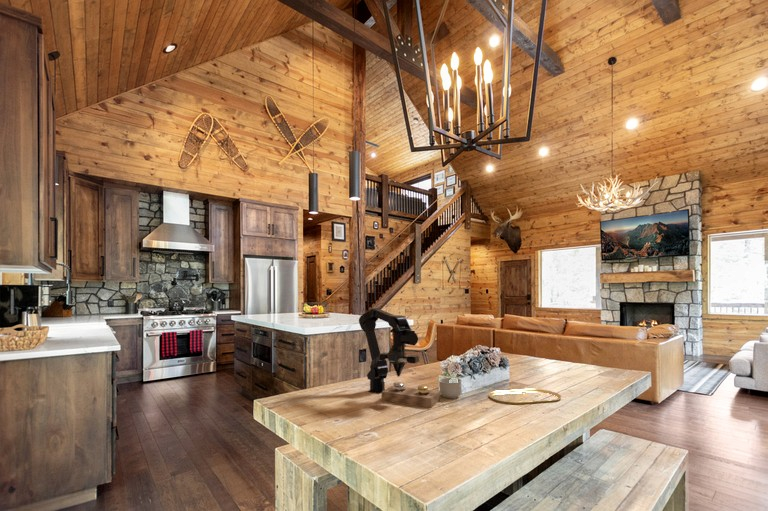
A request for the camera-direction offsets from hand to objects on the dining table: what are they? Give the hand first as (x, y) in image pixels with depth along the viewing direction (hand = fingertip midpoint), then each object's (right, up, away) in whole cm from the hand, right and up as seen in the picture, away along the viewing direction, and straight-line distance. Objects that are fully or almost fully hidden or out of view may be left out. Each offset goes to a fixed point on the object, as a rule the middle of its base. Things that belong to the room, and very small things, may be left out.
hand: (398, 376), depth 181 cm
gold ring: (+60, -12, +2) cm, 61 cm away
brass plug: (+11, -6, -6) cm, 14 cm away
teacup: (+25, -11, +5) cm, 28 cm away
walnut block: (+5, -10, -3) cm, 12 cm away
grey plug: (0, -7, -1) cm, 7 cm away
